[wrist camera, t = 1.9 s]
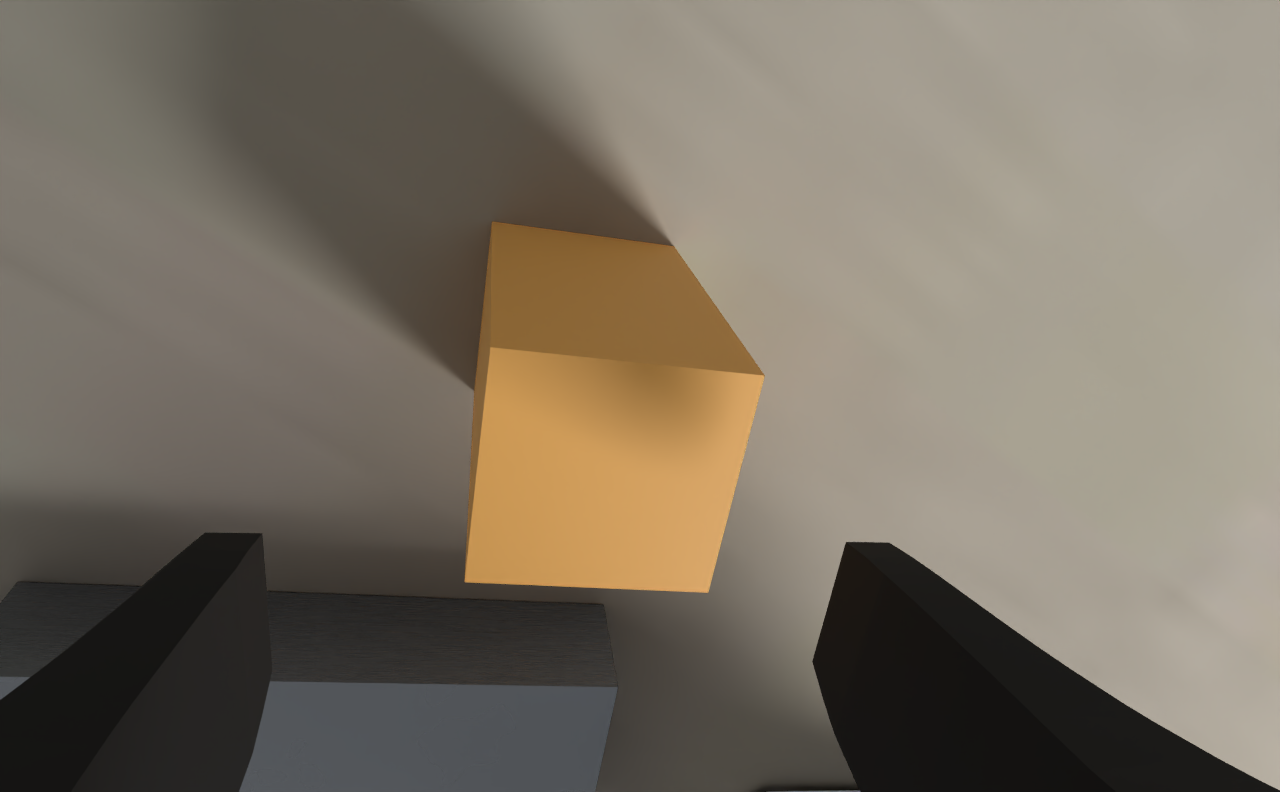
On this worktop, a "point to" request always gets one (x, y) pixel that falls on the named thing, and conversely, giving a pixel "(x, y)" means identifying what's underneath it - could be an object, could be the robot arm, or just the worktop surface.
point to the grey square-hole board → (390, 688)
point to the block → (602, 416)
